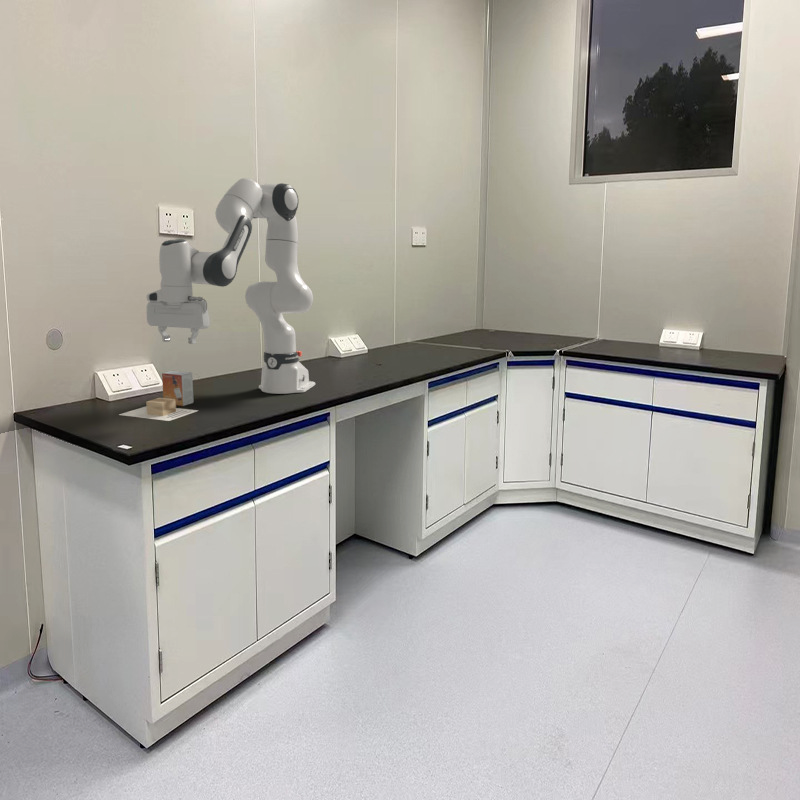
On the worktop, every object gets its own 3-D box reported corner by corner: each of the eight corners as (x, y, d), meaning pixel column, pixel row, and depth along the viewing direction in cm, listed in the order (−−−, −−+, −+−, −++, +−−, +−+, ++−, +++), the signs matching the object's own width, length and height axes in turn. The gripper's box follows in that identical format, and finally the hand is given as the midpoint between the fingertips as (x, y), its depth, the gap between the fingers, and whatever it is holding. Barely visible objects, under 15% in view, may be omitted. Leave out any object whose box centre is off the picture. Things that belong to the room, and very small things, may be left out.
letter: (150, 405, 213) (150, 404, 213) (198, 411, 207) (198, 410, 207) (118, 415, 201) (118, 414, 200) (168, 421, 194) (168, 420, 194)
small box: (163, 404, 215) (161, 373, 213) (174, 400, 220) (172, 370, 218) (183, 406, 213) (181, 374, 210) (194, 403, 218) (192, 371, 215)
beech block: (160, 409, 207) (159, 397, 206) (176, 411, 205) (175, 399, 204) (147, 414, 202) (146, 401, 201) (163, 416, 200) (162, 403, 199)
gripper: (213, 296, 192) (214, 343, 195) (156, 294, 199) (159, 339, 202) (199, 297, 186) (201, 345, 189) (141, 294, 193) (144, 341, 196)
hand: (179, 342), depth 196 cm, fingers open, 8 cm apart
